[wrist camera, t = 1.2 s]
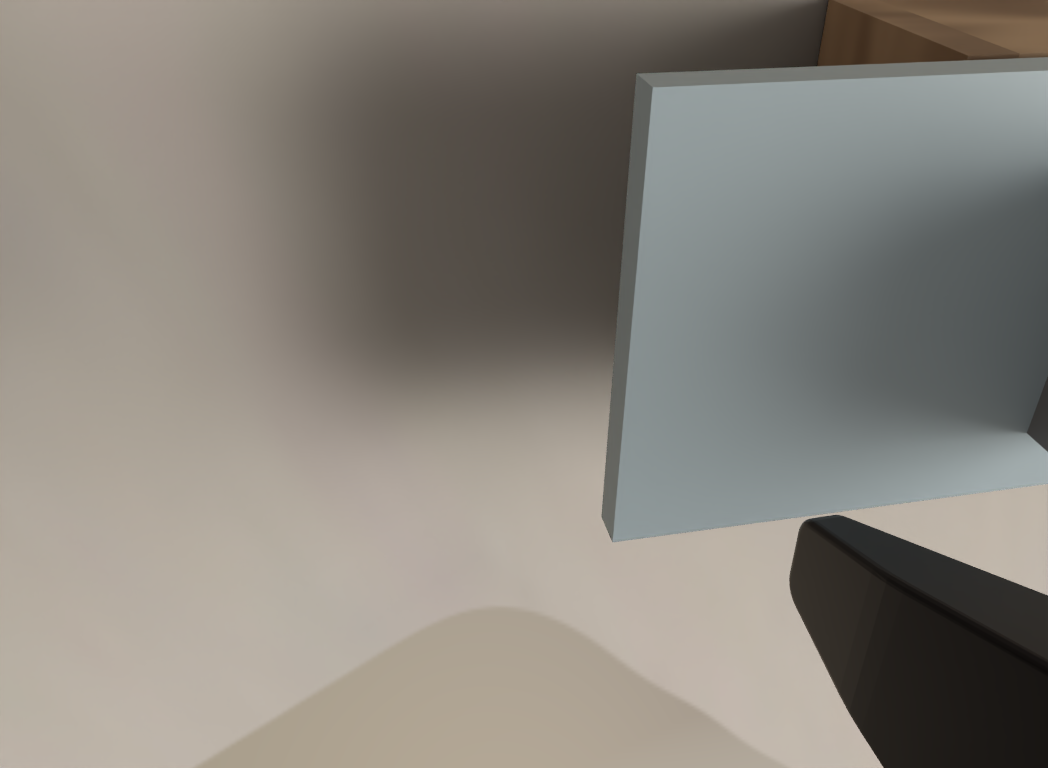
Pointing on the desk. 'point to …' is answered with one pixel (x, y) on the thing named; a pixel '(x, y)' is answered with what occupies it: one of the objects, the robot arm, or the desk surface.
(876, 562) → the robot arm
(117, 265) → the desk surface
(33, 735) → the desk surface
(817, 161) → the lid
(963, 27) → the box
